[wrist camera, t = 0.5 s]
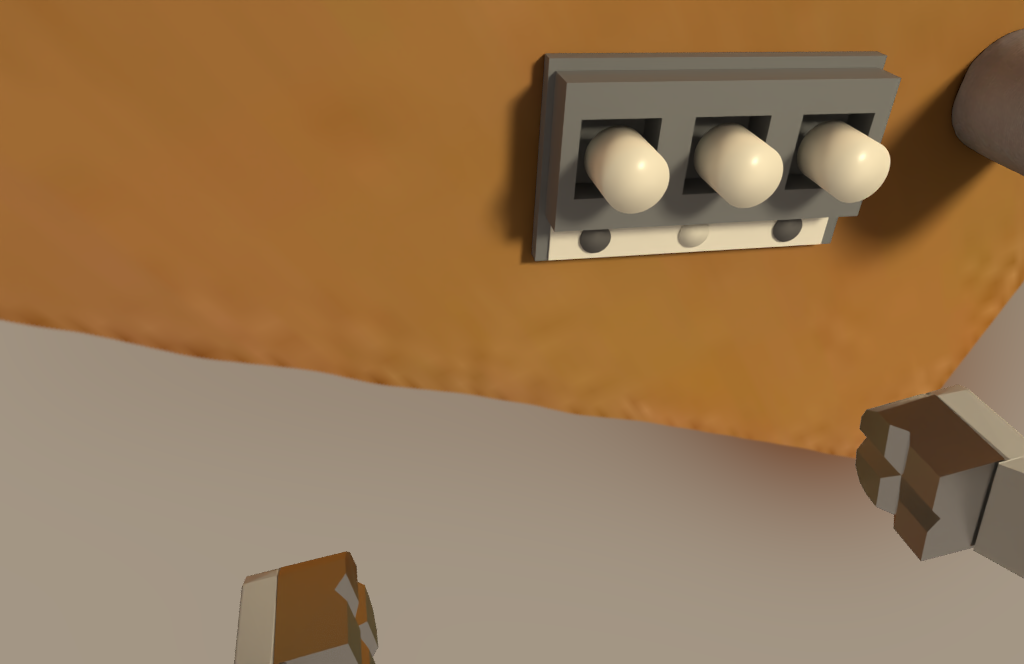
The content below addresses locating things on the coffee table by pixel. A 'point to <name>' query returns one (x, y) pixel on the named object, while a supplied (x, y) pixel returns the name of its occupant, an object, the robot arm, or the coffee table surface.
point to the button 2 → (738, 165)
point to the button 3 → (843, 161)
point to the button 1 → (626, 169)
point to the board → (675, 134)
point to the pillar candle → (994, 103)
